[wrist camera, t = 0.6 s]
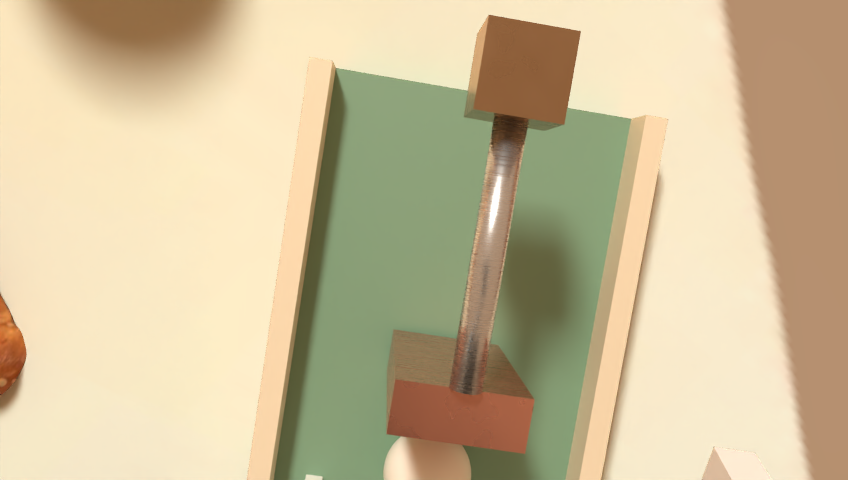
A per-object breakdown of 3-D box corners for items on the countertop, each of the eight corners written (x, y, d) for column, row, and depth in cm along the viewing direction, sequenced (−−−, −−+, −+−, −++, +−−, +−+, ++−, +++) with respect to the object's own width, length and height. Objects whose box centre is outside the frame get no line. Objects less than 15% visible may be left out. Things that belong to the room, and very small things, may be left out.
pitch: (554, 611, 37) (580, 678, 32) (241, 571, 36) (217, 634, 31) (644, 124, 35) (686, 114, 30) (316, 67, 34) (304, 48, 29)
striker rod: (491, 385, 34) (533, 470, 24) (386, 370, 34) (386, 450, 24) (543, 80, 33) (611, 36, 23) (436, 61, 33) (458, 9, 23)
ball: (458, 501, 35) (468, 542, 31) (377, 490, 35) (376, 529, 31) (472, 421, 35) (483, 453, 31) (390, 410, 34) (390, 440, 31)
